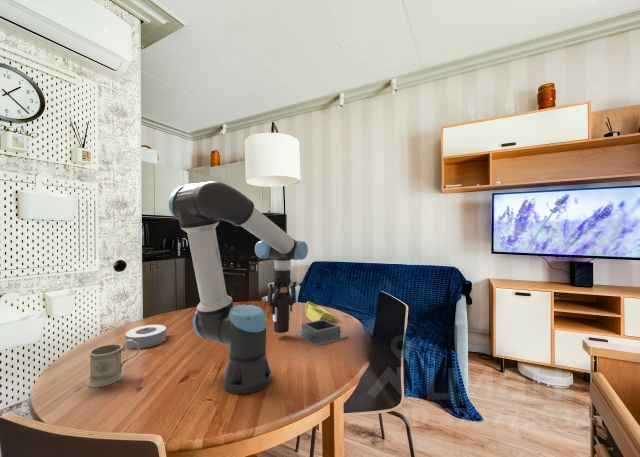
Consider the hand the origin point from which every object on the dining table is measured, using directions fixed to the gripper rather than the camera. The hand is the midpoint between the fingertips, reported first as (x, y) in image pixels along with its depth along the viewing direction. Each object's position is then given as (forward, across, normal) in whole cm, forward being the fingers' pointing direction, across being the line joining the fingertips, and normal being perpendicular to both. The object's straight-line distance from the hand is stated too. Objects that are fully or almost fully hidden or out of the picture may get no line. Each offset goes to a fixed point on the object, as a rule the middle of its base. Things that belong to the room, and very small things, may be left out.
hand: (281, 319), depth 128 cm
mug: (+9, +62, +2) cm, 62 cm away
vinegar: (+5, 0, 0) cm, 5 cm away
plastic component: (+8, -30, -15) cm, 35 cm away
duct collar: (+8, -16, +8) cm, 20 cm away
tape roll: (+9, +52, -28) cm, 59 cm away
